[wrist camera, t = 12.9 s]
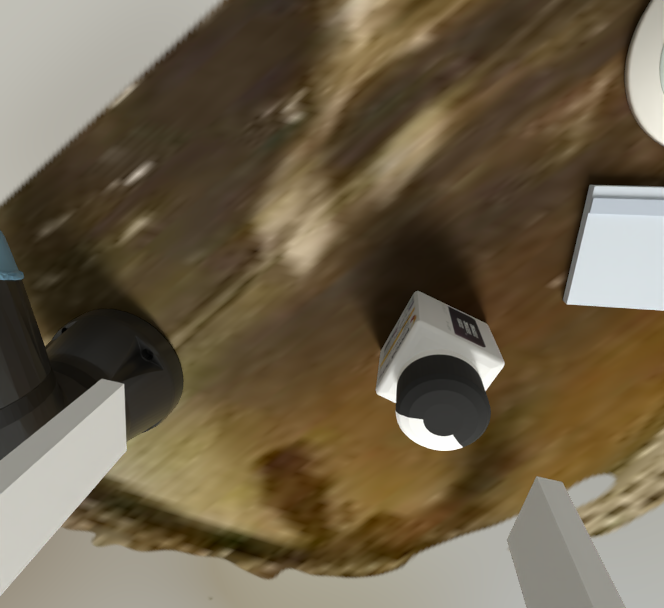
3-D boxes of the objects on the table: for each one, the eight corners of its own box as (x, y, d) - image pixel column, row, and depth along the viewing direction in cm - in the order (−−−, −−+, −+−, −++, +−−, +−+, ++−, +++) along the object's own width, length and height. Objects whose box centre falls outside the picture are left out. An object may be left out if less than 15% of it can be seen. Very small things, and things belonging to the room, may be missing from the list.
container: (415, 288, 39) (420, 352, 27) (489, 323, 39) (526, 403, 27) (379, 351, 42) (368, 435, 30) (447, 384, 42) (463, 480, 30)
